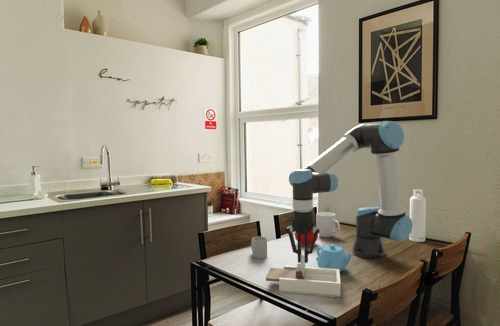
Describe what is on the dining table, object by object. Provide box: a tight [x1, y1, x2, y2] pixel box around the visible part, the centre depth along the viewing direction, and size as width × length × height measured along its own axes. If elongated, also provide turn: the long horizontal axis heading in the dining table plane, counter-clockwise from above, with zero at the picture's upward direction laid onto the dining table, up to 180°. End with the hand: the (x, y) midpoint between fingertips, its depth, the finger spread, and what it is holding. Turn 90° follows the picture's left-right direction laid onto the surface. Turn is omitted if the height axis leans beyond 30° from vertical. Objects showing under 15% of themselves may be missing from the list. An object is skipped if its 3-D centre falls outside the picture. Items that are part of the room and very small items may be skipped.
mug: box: [315, 211, 341, 238], centre depth 203 cm, size 15×11×13 cm
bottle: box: [408, 188, 427, 243], centre depth 194 cm, size 8×8×28 cm
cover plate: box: [265, 263, 305, 283], centre depth 136 cm, size 14×11×4 cm
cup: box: [250, 236, 268, 260], centre depth 171 cm, size 7×10×9 cm
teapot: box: [316, 243, 354, 272], centre depth 150 cm, size 15×14×11 cm
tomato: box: [294, 229, 319, 246], centre depth 188 cm, size 11×12×10 cm
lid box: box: [278, 265, 342, 298], centre depth 134 cm, size 22×14×5 cm, turn 77°
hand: (302, 270), depth 134 cm, fingers closed
